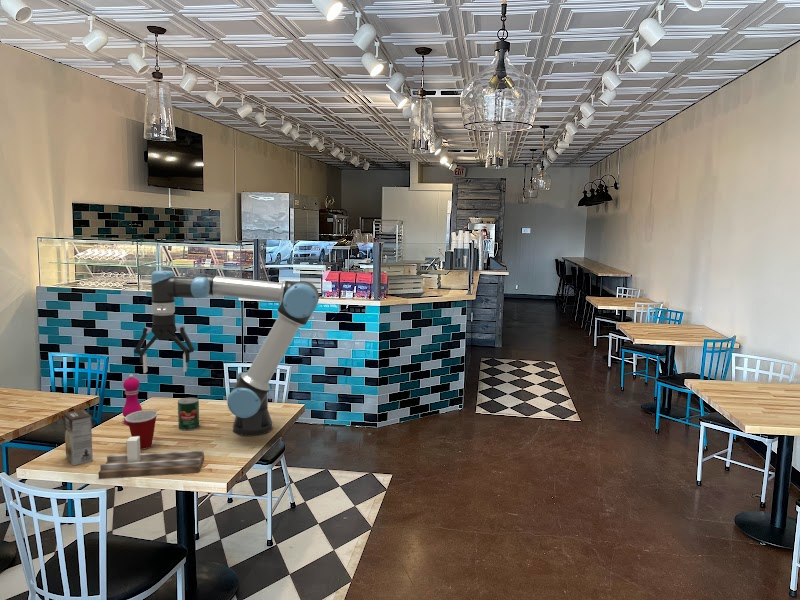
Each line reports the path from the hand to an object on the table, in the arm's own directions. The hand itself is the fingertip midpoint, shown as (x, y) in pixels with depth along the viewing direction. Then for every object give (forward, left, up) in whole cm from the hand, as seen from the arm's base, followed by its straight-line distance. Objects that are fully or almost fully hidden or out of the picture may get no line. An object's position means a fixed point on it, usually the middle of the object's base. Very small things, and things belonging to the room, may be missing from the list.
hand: (165, 371), depth 208 cm
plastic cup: (+8, +3, -27) cm, 28 cm away
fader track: (0, +23, -27) cm, 35 cm away
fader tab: (+6, +23, -24) cm, 34 cm away
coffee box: (+26, +12, -27) cm, 39 cm away
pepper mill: (+18, -25, -27) cm, 41 cm away
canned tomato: (-5, -16, -27) cm, 32 cm away
